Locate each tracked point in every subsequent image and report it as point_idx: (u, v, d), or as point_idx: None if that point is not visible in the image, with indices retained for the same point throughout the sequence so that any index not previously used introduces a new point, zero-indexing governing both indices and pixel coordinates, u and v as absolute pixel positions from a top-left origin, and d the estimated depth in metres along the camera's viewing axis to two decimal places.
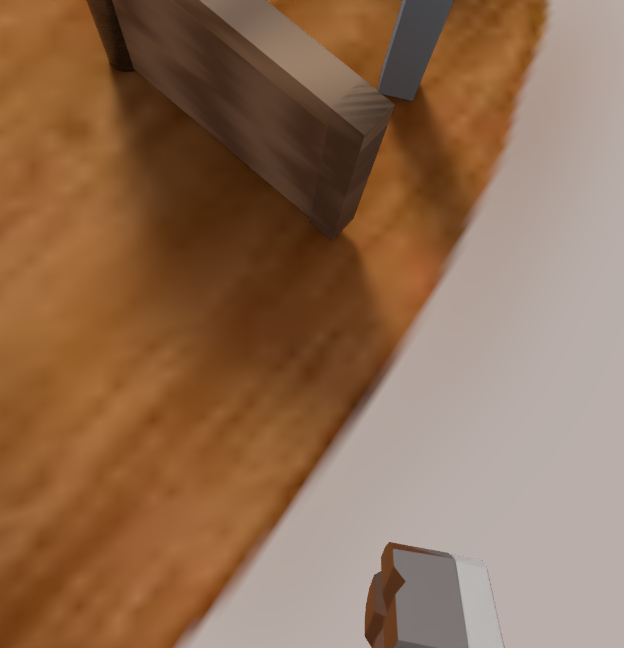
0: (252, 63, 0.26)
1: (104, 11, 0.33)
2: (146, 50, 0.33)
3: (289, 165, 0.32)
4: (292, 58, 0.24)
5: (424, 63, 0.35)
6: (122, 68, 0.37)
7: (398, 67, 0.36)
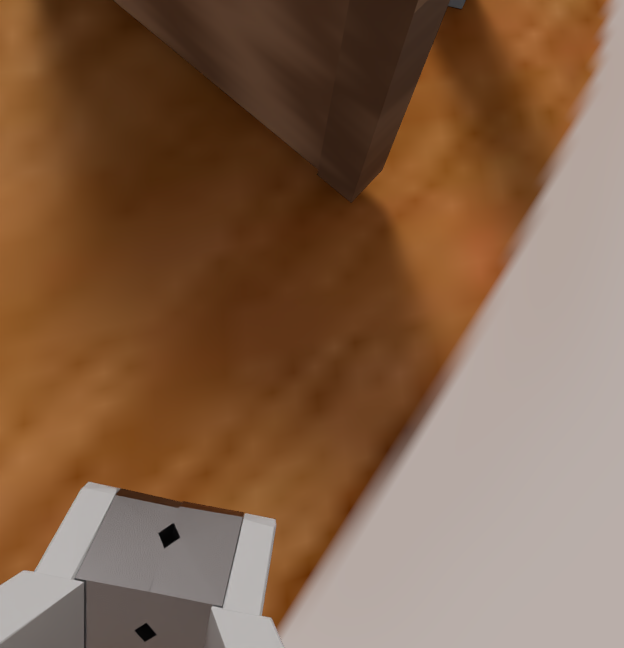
0: None
1: None
2: None
3: (286, 77, 0.20)
4: None
5: None
6: None
7: None
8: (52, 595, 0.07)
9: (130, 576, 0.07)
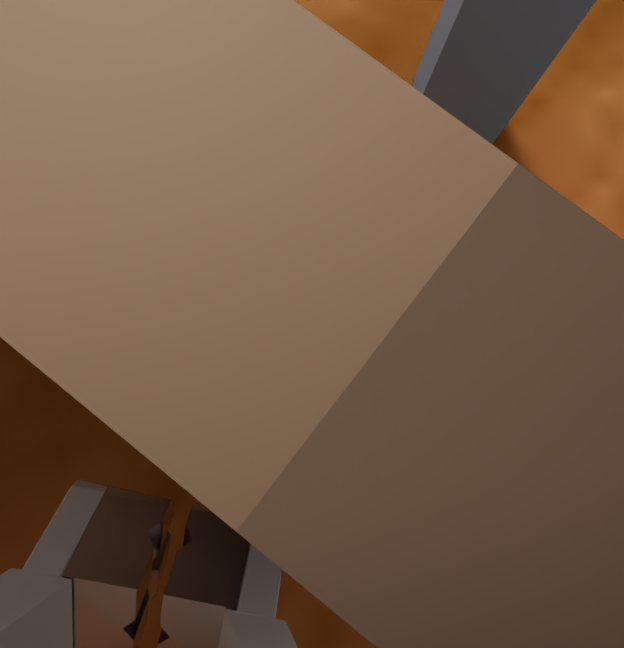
0: None
1: None
2: None
3: None
4: None
5: (537, 67, 0.13)
6: None
7: (463, 78, 0.14)
8: (39, 593, 0.07)
9: (118, 574, 0.07)
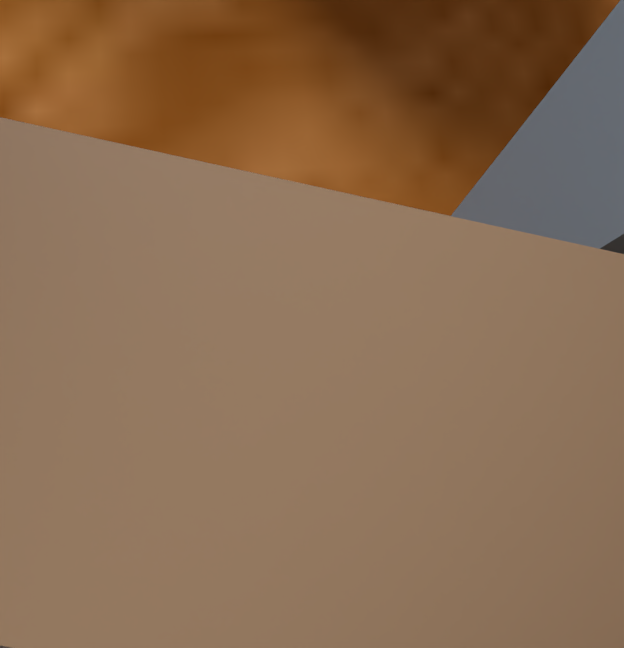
0: None
1: None
2: None
3: None
4: (90, 468, 0.02)
5: None
6: None
7: None
8: None
9: None
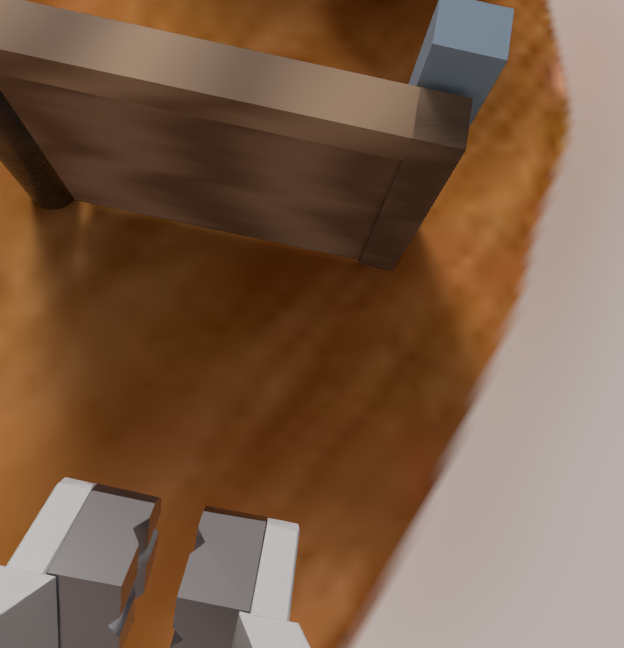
0: (278, 131, 0.20)
1: (9, 157, 0.26)
2: (93, 174, 0.27)
3: (328, 218, 0.26)
4: (333, 103, 0.19)
5: None
6: (46, 206, 0.30)
7: None
8: (23, 589, 0.07)
9: (103, 571, 0.07)
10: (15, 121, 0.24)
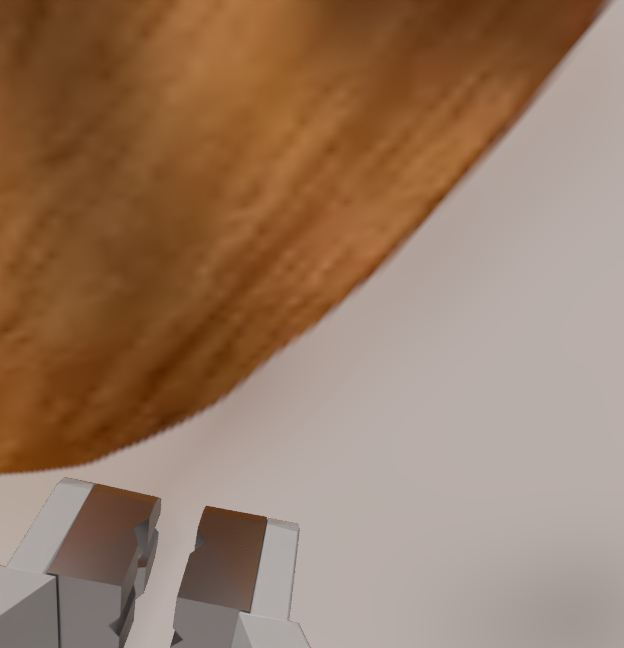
0: None
1: None
2: None
3: None
4: None
5: None
6: None
7: None
8: (23, 589, 0.07)
9: (103, 571, 0.07)
10: None
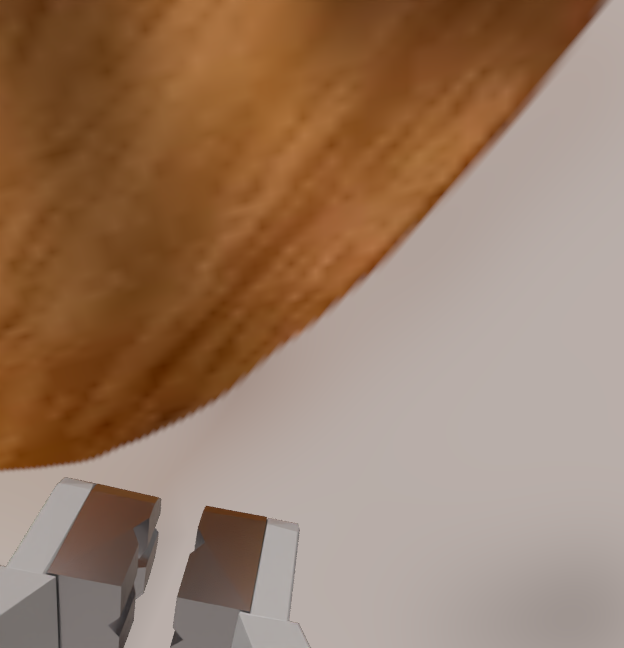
0: None
1: None
2: None
3: None
4: None
5: None
6: None
7: None
8: (23, 589, 0.07)
9: (103, 571, 0.07)
10: None
